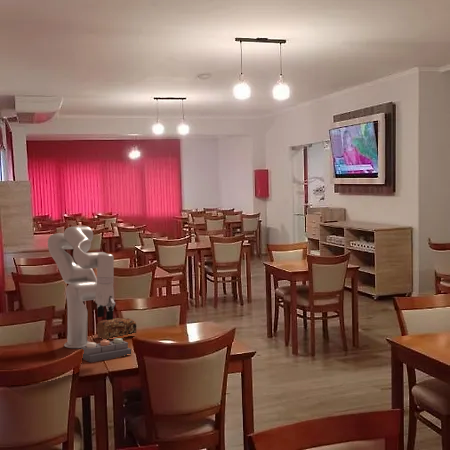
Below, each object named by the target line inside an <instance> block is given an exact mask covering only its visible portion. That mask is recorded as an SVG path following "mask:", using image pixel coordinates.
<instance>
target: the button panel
mask: <svg viewBox="0 0 450 450" xmlns="http://www.w3.org/2000/svg"><path fill="white" fill-rule="evenodd" d="M81 349H83V350H84V354H83V359H82V360H84V361H86V362H88V363H96V362H102V361H107V360H111V359H117V358H116V357H119V358H121V357H120V356H124V355H127V354H131V355H132V348H130V347H129V342H127V341H125V340H123V343H119V344H115V343H114V340H112V341H110V345H107V346H101V345H100V342H99V343H96V347H95V348H87V345H86V346H81V348H80V350H81ZM124 357H125V356H124Z"/></svg>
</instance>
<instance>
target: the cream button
mask: <svg viewBox="0 0 450 450" xmlns="http://www.w3.org/2000/svg"><path fill="white" fill-rule="evenodd" d="M96 344H97V343H96V342H95V341H94V342H93V341H92V342H91V341H89V343H87V348H95V347H96Z"/></svg>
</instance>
